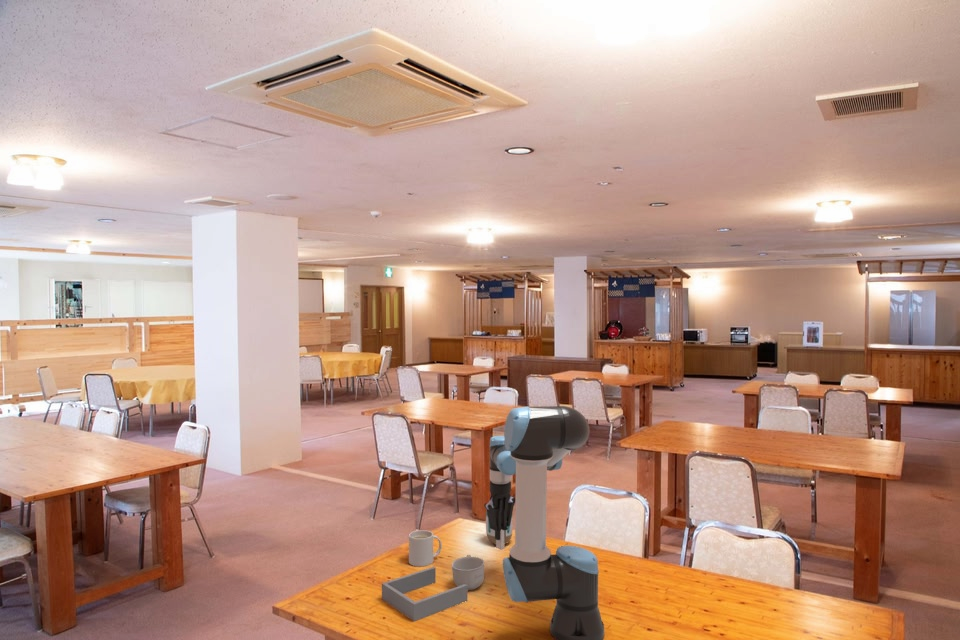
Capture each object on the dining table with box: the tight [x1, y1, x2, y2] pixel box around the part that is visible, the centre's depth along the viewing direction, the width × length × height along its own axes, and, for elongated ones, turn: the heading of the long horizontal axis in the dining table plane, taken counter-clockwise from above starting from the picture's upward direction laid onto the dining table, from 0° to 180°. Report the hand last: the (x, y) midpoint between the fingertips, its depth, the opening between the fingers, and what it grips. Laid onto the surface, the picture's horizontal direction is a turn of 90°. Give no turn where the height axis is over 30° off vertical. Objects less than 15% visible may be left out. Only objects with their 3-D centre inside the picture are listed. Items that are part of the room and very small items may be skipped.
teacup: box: [451, 554, 485, 591], centre depth 207 cm, size 14×11×8 cm
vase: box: [485, 509, 514, 545], centre depth 243 cm, size 11×11×19 cm
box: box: [381, 566, 468, 622], centre depth 195 cm, size 18×20×5 cm
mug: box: [408, 529, 443, 567], centre depth 225 cm, size 11×10×10 cm
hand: (500, 548), depth 216 cm, fingers closed
